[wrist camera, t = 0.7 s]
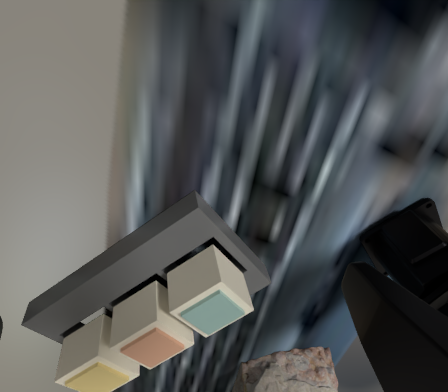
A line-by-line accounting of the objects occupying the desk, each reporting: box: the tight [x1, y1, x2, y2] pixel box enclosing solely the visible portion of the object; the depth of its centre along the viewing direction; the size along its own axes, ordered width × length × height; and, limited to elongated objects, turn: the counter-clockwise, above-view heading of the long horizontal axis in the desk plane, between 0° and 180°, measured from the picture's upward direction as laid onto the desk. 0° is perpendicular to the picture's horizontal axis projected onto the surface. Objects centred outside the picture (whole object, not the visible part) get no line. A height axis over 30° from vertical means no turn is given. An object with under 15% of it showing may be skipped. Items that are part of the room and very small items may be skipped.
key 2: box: [109, 281, 194, 369], centre depth 24 cm, size 4×4×4 cm
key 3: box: [54, 314, 140, 392], centre depth 25 cm, size 4×4×4 cm
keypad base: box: [21, 190, 271, 344], centre depth 27 cm, size 10×16×2 cm, turn 123°
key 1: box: [167, 245, 254, 337], centre depth 23 cm, size 4×4×4 cm
